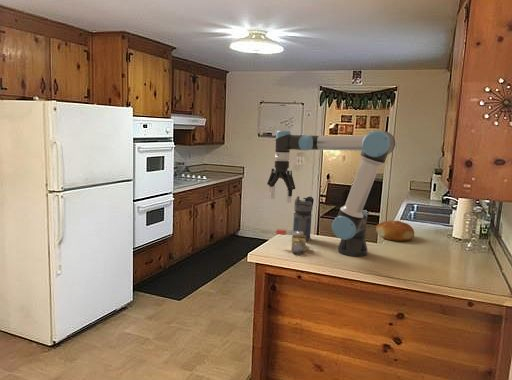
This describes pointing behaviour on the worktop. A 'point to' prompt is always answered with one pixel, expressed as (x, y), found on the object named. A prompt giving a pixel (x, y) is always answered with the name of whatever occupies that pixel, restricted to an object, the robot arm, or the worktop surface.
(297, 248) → the valve pipe
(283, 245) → the worktop surface
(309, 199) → the beverage bottle
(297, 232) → the lever
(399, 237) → the bread
